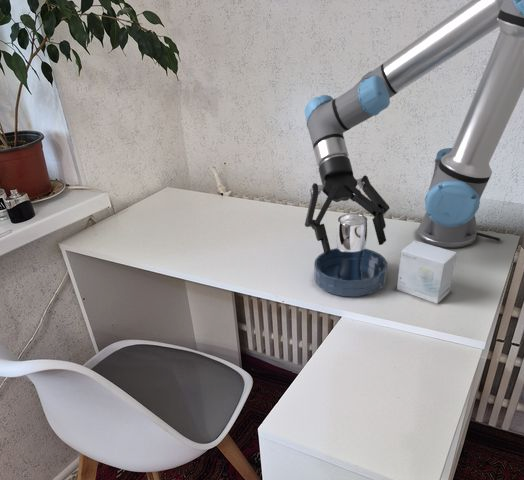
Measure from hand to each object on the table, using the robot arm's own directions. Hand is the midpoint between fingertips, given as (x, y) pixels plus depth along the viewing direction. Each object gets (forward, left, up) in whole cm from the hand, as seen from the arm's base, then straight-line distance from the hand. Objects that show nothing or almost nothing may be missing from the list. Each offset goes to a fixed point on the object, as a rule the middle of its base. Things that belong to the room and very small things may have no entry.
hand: (355, 247), depth 117 cm
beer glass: (+1, -2, -9) cm, 9 cm away
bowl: (+1, -2, -9) cm, 10 cm away
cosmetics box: (-16, +2, -10) cm, 19 cm away
